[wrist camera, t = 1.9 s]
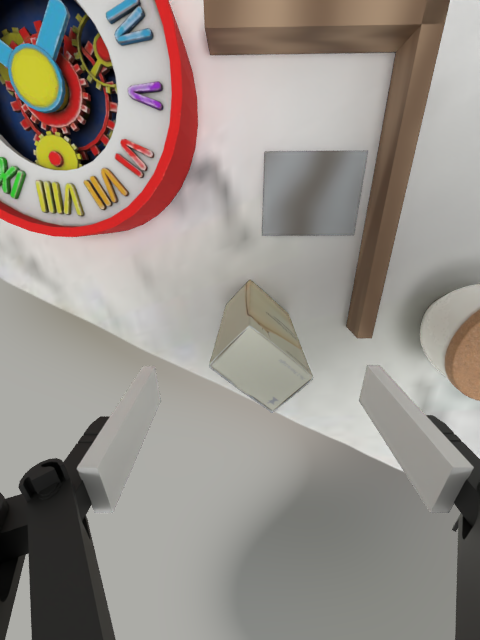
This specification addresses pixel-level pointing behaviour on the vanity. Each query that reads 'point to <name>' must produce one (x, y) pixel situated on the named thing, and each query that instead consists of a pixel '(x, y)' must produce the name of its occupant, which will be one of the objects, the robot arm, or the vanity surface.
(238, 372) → the skincare box
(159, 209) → the toy clock
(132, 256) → the vanity surface
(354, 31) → the walnut l-shaped corner bracket
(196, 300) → the vanity surface
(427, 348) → the lidded jar
